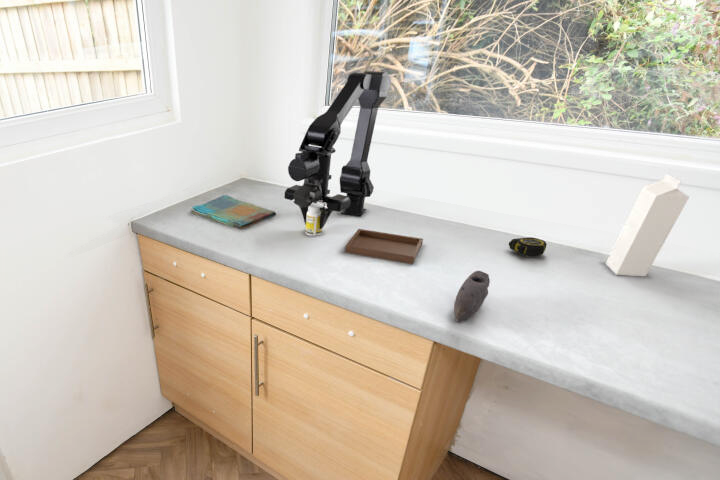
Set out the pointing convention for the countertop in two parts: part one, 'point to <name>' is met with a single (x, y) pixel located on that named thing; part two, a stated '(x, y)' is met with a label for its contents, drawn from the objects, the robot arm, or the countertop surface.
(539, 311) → the countertop surface
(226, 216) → the dish towel
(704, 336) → the countertop surface
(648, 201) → the milk
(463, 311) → the perforated stone tool
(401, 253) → the tray
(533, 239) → the tape measure
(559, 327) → the countertop surface
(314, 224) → the supplement bottle
